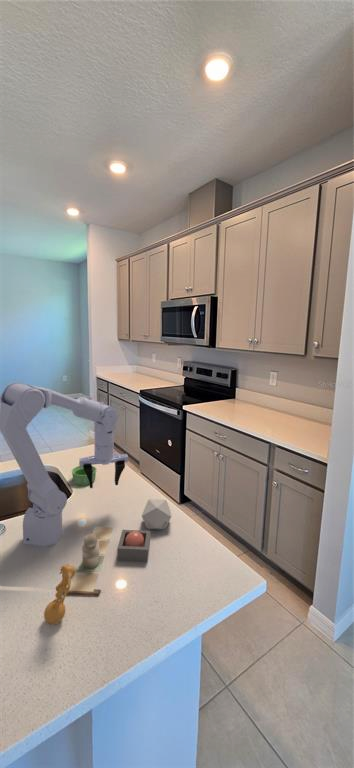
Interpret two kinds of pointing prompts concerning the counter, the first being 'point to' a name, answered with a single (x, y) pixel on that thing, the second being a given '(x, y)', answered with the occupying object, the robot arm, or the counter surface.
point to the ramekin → (82, 475)
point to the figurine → (60, 596)
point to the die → (156, 514)
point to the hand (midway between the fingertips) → (103, 485)
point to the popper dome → (134, 539)
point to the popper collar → (133, 548)
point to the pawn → (90, 551)
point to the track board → (87, 581)
